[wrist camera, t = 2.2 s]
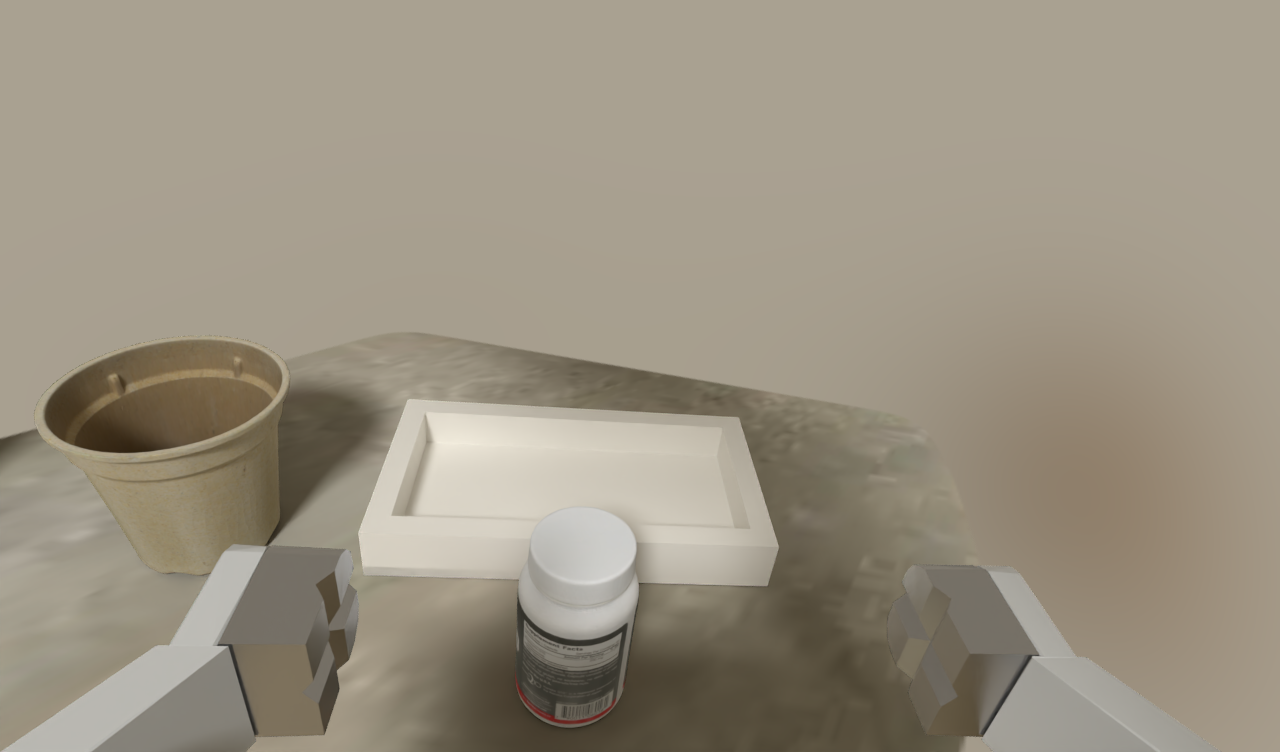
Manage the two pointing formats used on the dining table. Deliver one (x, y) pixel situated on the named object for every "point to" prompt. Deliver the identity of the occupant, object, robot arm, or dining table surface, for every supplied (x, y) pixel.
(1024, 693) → the robot arm
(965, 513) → the dining table surface
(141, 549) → the flower pot
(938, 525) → the dining table surface
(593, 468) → the tray
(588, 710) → the pill bottle
